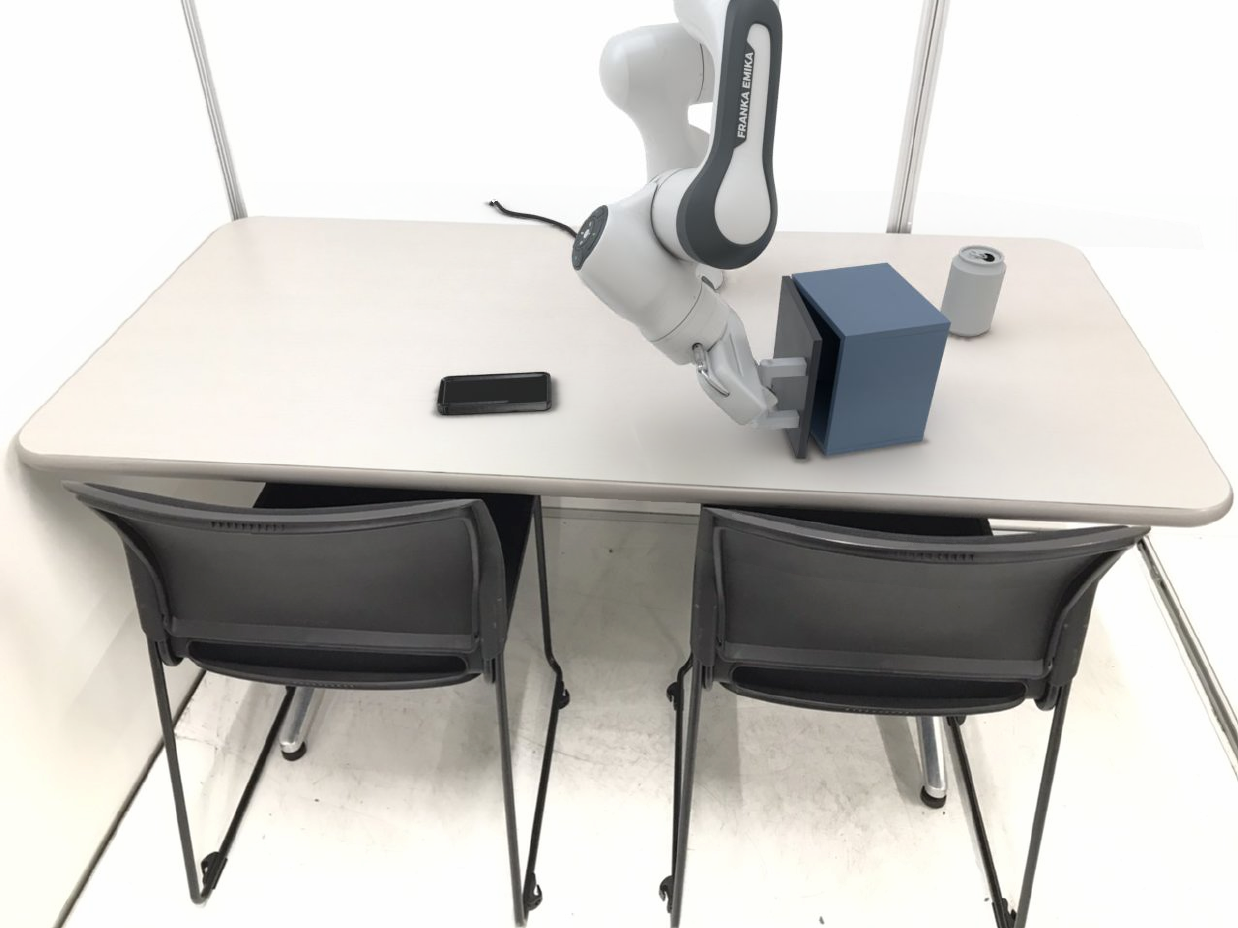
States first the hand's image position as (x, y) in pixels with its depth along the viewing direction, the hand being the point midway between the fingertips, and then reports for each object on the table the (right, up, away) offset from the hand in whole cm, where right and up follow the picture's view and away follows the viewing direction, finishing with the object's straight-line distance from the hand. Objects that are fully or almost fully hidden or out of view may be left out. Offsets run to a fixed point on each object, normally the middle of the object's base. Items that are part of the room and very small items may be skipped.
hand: (770, 395), depth 108 cm
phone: (-35, +1, +15) cm, 38 cm away
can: (+34, +12, +29) cm, 46 cm away
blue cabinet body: (+12, -2, +12) cm, 17 cm away
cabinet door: (+1, -3, +10) cm, 10 cm away
